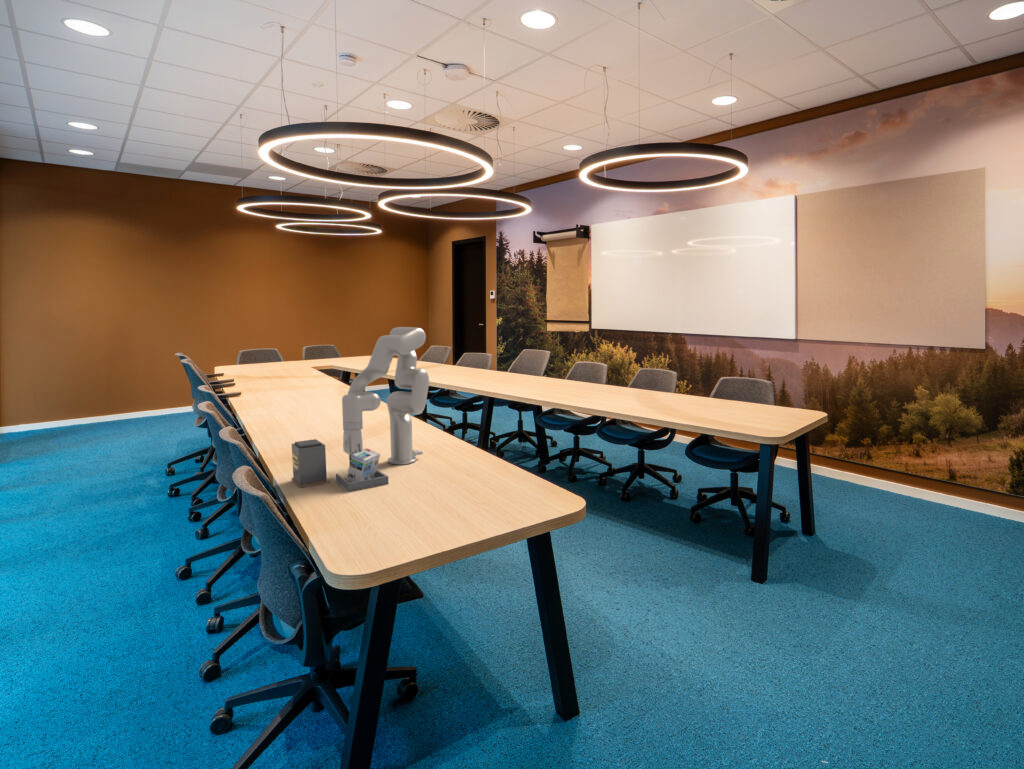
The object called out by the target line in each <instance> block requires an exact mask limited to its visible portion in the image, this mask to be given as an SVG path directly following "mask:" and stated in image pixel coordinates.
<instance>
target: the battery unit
mask: <svg viewBox="0 0 1024 769" xmlns="http://www.w3.org/2000/svg"><path fill="white" fill-rule="evenodd" d="M326 455H327V454H326V444H324V443H323V442H321V441H319V440H317V439H316V438H314V439H306V440H300V441H294V443H291V458H292V476H293V477H290V478H291V481H292V482H293V483H294V485H296V486H297V487H298V488H299V489H302V488H308V486H309V487H314V486H318V485H324V483H325V484H329V483H330V480H329V479H328V477H327V474H328V473H327V459H326V458H327V457H326Z"/></svg>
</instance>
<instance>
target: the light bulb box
mask: <svg viewBox="0 0 1024 769" xmlns="http://www.w3.org/2000/svg"><path fill="white" fill-rule="evenodd" d="M380 456H381V453H380V452H376V451H375V450H372V449H370V448H363V451H359V452H357V453H354V454H352V457H351V460H349V461H350V464H349V466H348V470H347V474H346V478H345V479H346V480H347V481H350V482H356V481H362V480H367V479H372V478H376V477H375V473H376V469H377V470H378V468H377V467H378V465H379V460H380Z"/></svg>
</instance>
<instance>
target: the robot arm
mask: <svg viewBox="0 0 1024 769" xmlns="http://www.w3.org/2000/svg"><path fill="white" fill-rule="evenodd" d="M426 338H427V335H426V332H425V331H424V330H423V329H422V328H421V327H413V326H409V327H407V326H398V327H397V326H396V327H394V328H392V329H391V330H390V332H389V334H386V335H381V336H379V337H378V339H377V340H376V343H375V346H374V349H373V351H372V354H371V356H370V359H369V361H368V364H367V366H366V367H365V368H364V369H363V370H362V371H360V373H358V374H357V375H356V376H355V378H354V379H353V380H352V381H351V384H350V386H349V388H348V391H347V394H344V395H343V396H342V398H341V405H342V408H341V409H342V410H341V411H342V412H341V413H342V430H343V434H342V435H343V437H342V441H343V442H342V443H343V444H342V450H343V453H346V454H347V455H348V460H349V465H350V461H351V457H352V454H354V453H357V452H359V451H363V450H364V448H363V447H364V446H363V444H364V443H363V435H362V430H363V428H364V423H363V422H364V421H363V412H373V411H375V410H377V409H378V408H379V407H380V405H381V403H382V402H381V397H380V395H379V394H377V393H375V392H371V391H365V389H366V387H367V386H368V385H370V383H372V382H374V381H376V380H378V379H380V378H382V377H384V376H386V375H387V374H388V373H389V369H390V366H391V364H392V361H393V359H394V356H397V363H396V368H395V373H394V385H395V386H396V387H398V388H399V389H403V390H404V389H406V390H411V391H401V390H400V391H398V390H397V391H393V392H391V393H389V395H388V396H387V400H386V406H387V409H388V410H387V411H388V415H389V429H390V431H389V433H390V457H388V458H387V463H388V464H391V465H409V464H413V463H415V462H416V461H417V456H420V455H423V454H424V452H423V450H422V449H420V450H414V449H413V422H412V421H413V420H412V418H411V415H420V414H422V413H423V411H424V410H425V408H426V403H427V398H428V392H429V388H430V386H429V385H430V376H429V373H428V372H427V370H425V368H419V367H417V362H418V356H417V355H418V354H417V353H416V350H417V349H419V348H421V347H422V346H424V344H425V343H426Z"/></svg>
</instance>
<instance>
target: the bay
mask: <svg viewBox="0 0 1024 769" xmlns="http://www.w3.org/2000/svg"><path fill="white" fill-rule="evenodd" d="M335 482H336V483H337V482H338V483H339V485H340V486H341V485H342V486H343V487H342V486H341V487H342V488H344V489H345V488H346V489H347V490H346V489H345V490H346V491H347V492H353V491H352V490H354V491H358V489H359V490H363V489H362V488H364V489H368V488H367V487H370V488H373V487H372V486H375V487H378V485H380V486H384V485H383V484H385V485H388V484H389V476H388V475H387V474H385V473H384V472H382V471H380V470H378V468H377V469H376V473H375V477H374V478H372V479H367V480H362V481H356V482H352V481H350V482H349V480H347V479H346V478H344V477H343V476H341V475H340V474H338V473H336V474H335ZM338 483H337V484H338Z"/></svg>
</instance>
